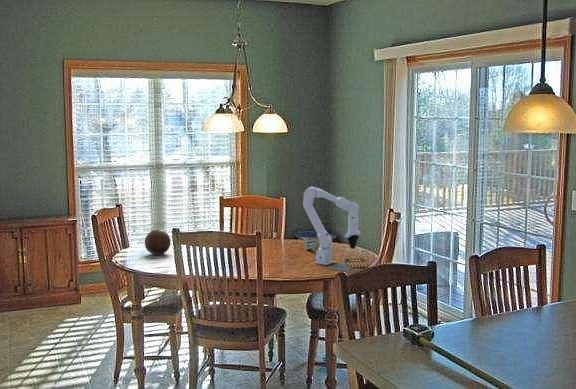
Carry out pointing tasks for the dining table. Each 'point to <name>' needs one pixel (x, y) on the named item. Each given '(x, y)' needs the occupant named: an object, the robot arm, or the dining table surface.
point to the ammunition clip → (355, 262)
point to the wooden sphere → (157, 242)
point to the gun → (312, 244)
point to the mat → (341, 267)
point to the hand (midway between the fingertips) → (352, 248)
